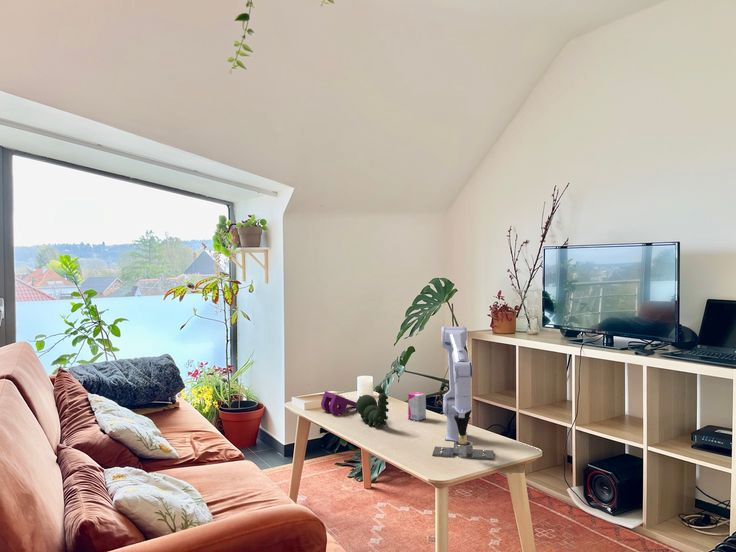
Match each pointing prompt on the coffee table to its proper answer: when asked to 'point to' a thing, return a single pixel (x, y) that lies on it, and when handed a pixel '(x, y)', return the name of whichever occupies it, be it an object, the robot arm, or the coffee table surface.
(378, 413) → the toy figurine
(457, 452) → the hinge
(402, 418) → the coffee table surface
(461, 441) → the hinge pin
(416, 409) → the supplement box
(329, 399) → the mounting bracket
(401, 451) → the coffee table surface
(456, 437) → the robot arm
